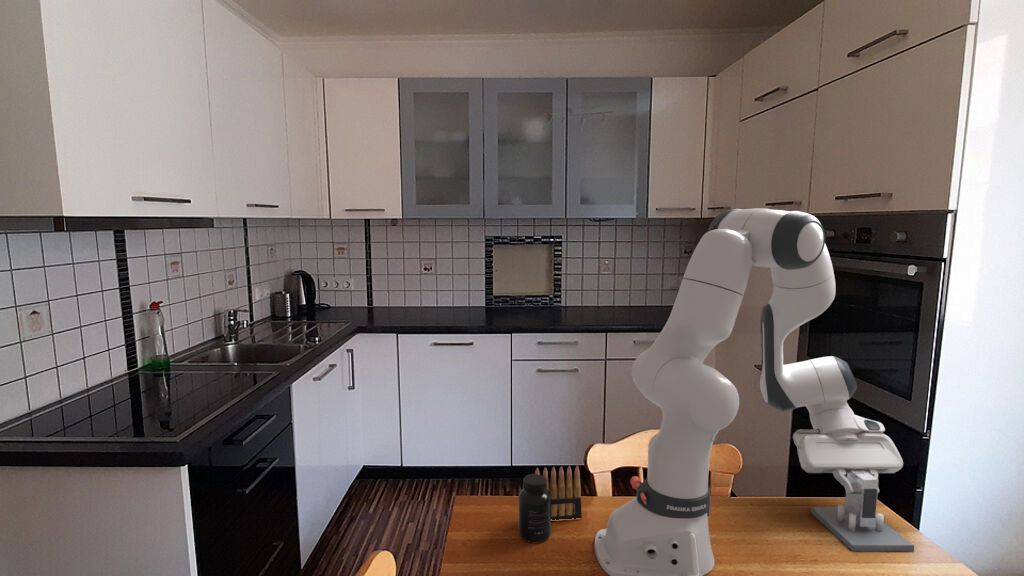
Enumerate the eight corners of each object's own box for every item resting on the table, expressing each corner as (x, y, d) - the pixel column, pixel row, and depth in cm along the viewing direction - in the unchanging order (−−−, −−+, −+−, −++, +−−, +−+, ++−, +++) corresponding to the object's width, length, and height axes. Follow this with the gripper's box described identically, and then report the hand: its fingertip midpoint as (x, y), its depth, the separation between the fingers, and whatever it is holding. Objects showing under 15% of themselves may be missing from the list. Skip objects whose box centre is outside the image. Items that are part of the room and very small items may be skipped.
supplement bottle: (515, 527, 109) (515, 473, 107) (546, 523, 110) (546, 469, 109) (522, 546, 102) (522, 488, 101) (555, 541, 103) (555, 485, 102)
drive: (861, 527, 104) (864, 480, 103) (844, 513, 109) (847, 468, 108) (875, 527, 104) (879, 480, 103) (858, 513, 109) (861, 468, 108)
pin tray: (852, 551, 100) (853, 529, 99) (811, 512, 114) (812, 493, 113) (913, 551, 100) (915, 529, 99) (865, 512, 114) (866, 493, 113)
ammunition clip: (579, 515, 113) (580, 463, 112) (581, 519, 111) (582, 467, 110) (532, 518, 112) (532, 466, 111) (533, 523, 110) (533, 470, 109)
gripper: (796, 423, 112) (820, 488, 103) (890, 423, 112) (922, 488, 103) (784, 435, 117) (806, 497, 108) (874, 435, 116) (903, 498, 108)
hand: (863, 493), depth 105 cm, fingers closed on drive, 3 cm apart
